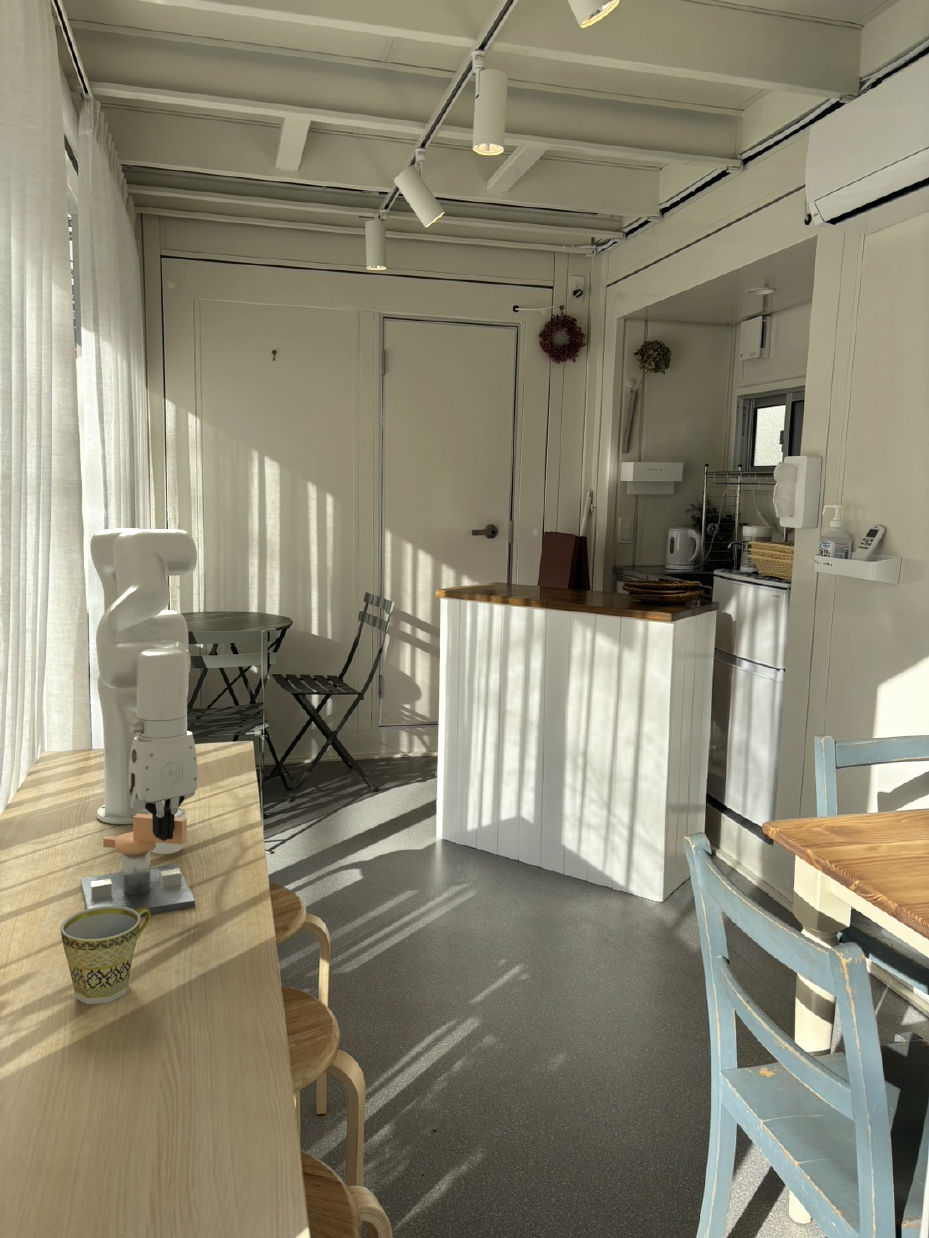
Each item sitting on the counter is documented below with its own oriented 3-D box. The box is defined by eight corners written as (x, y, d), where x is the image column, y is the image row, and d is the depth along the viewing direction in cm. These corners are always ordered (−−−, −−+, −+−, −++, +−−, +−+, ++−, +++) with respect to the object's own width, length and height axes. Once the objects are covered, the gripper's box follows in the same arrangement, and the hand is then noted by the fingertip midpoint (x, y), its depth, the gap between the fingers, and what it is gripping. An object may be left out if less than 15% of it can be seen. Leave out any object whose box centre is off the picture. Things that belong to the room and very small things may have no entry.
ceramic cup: (94, 1020, 119) (92, 947, 118) (46, 996, 124) (44, 925, 123) (174, 977, 130) (173, 910, 129) (127, 956, 135) (126, 891, 134)
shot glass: (174, 857, 171) (174, 820, 170) (140, 852, 173) (140, 816, 172) (192, 843, 178) (192, 808, 177) (159, 839, 179) (159, 804, 178)
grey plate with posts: (80, 884, 158) (79, 838, 157) (177, 870, 166) (177, 826, 164) (89, 924, 144) (88, 874, 143) (195, 907, 151) (194, 859, 150)
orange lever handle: (95, 852, 151) (94, 819, 151) (115, 838, 158) (114, 806, 157) (175, 860, 149) (175, 826, 149) (192, 845, 156) (192, 812, 155)
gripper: (128, 739, 139) (130, 856, 142) (216, 723, 150) (217, 832, 152) (106, 729, 144) (108, 842, 147) (192, 715, 155) (193, 820, 158)
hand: (163, 837), depth 150 cm, fingers closed
